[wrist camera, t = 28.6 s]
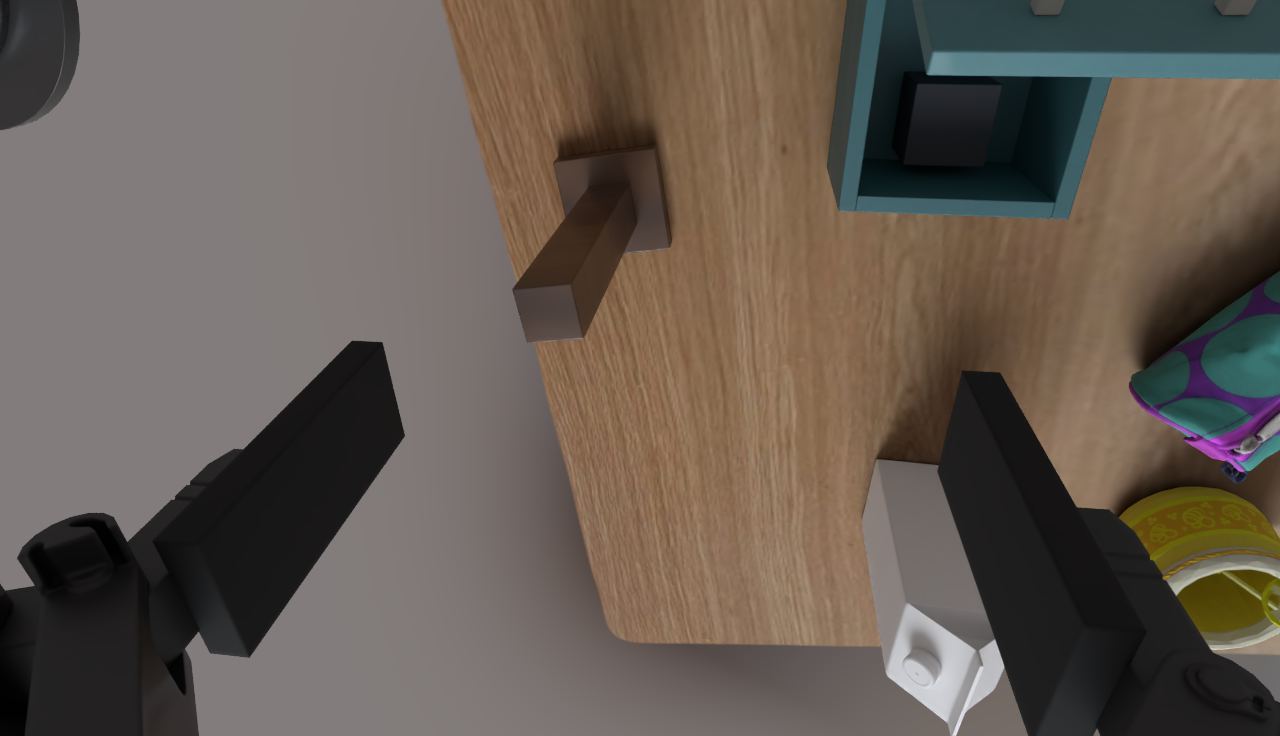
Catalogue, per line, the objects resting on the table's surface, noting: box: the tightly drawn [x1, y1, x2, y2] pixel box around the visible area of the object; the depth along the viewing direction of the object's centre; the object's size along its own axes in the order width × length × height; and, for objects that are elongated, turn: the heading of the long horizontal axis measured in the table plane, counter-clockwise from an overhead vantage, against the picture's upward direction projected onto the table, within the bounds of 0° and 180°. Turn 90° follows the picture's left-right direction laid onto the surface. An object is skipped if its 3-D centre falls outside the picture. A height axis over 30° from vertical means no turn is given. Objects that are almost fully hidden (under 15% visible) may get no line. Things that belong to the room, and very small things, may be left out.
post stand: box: [513, 144, 672, 343], centre depth 42 cm, size 7×7×18 cm
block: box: [892, 71, 1003, 167], centre depth 41 cm, size 4×4×4 cm
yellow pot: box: [1118, 486, 1280, 650], centre depth 51 cm, size 13×11×12 cm
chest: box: [827, 0, 1112, 219], centre depth 38 cm, size 16×12×9 cm
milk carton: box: [862, 459, 1004, 736], centre depth 51 cm, size 7×7×19 cm
